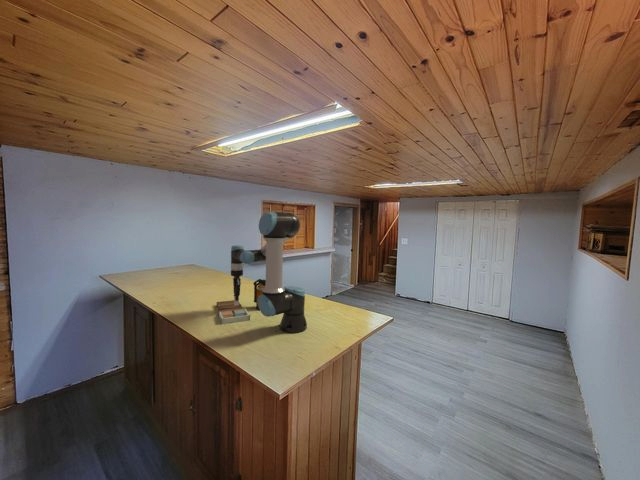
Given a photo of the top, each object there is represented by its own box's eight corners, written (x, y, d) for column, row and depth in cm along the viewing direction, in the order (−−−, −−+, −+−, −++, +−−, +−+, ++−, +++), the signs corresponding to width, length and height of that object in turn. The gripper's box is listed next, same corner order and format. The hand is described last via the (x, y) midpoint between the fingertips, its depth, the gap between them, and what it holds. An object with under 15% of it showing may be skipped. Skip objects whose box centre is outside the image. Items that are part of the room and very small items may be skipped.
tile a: (233, 318, 162) (233, 314, 161) (222, 319, 159) (222, 315, 159) (231, 314, 167) (231, 310, 167) (221, 316, 164) (221, 312, 164)
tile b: (245, 316, 165) (245, 312, 165) (235, 317, 162) (235, 313, 162) (243, 313, 170) (243, 309, 170) (233, 314, 167) (233, 310, 167)
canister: (268, 310, 178) (268, 281, 177) (251, 309, 178) (251, 280, 177) (270, 306, 187) (271, 278, 185) (255, 305, 187) (255, 277, 186)
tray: (250, 320, 160) (250, 315, 160) (221, 324, 153) (221, 319, 153) (245, 313, 172) (245, 308, 172) (218, 316, 164) (219, 311, 164)
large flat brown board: (243, 313, 171) (243, 309, 171) (220, 316, 165) (220, 312, 165) (237, 303, 191) (237, 299, 191) (216, 305, 184) (216, 302, 184)
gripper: (245, 271, 168) (244, 307, 170) (240, 267, 179) (240, 301, 181) (232, 271, 164) (232, 309, 166) (229, 267, 176) (228, 302, 178)
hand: (236, 305), depth 174 cm, fingers closed
